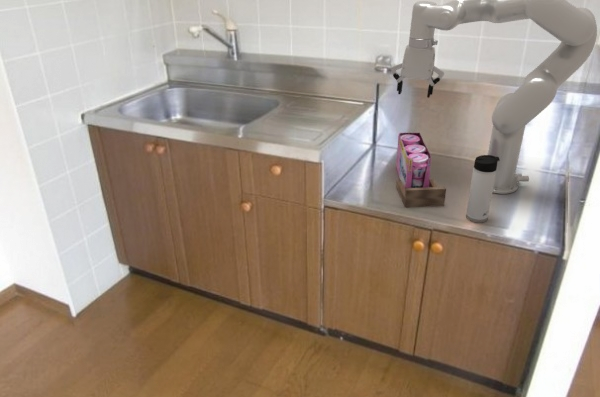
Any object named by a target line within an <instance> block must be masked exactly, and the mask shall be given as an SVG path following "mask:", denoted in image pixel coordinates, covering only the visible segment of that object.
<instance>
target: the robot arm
mask: <svg viewBox="0 0 600 397" xmlns="http://www.w3.org/2000/svg"><path fill="white" fill-rule="evenodd" d="M410 20H411V21H410V29H409V38H408V45H406V47H405V49H404V53H403V56H402V57H403V58H402V63H398V64H397V65H394V66H392V67H391V68H390V72H391V74H392V77H393V78H394V79H395V80H396V83H397V86H396V91H397V92H398V93H397V95H401V94H402V91H403V84H404V81H403V80H404V79H405V78H406V79H414V80H424V81H427V82H428V84H429V85H428V87H427V95H426V97H427V98H428V99H430V96H432V95H433V93H434V87H435V85H436V84H438V83H439V82H440V81H441V79H442V78H443V77H444V75H445V72H444V71H443V70H441V69H439V68H438V67H437V66H435V60H436V59H435V58H436V49H435V47H434V46H437V45H438V42H439V41H438V40H436V39H435V38H434V36H435V29H436V30H439V31H445V32H447V31H451V30H453V29H455V28H456V27H457V26H458V25H463V24H468V23H477V22H489V23H493V24H502V23H509V22H516V21H521V20H530V21H532V22H533V23H535V24H537V26H539V28H541V29H542V30H544V31H546V32H547V33H549V34H550V35H551V36H552V37H555V38H556V39H557V40H559V41H560V43H559V45H557V47H556V48H555V50H553V51H552V52H551V53H550V55H548V57H546V58H545V59H544V60H543V61H542V62H541V63H540V64H539V65H538V66H537V67H535V68H534V69H533V70H532V71H531V72H529V73H528V74H527V75H526V76H525V78H524V79H523V82H522V84H520V86H519V87H518V88H517V89H516V90H515V91H514V92H509V93H507V94H505V95H503V96H501V97H500V98H499V99H498V101H497V103H496V105H495V107H494V110H493V112H492V115H491V124H492V129H491V134H490V140H489V144H488V150H487V151H488V152H487V155H492V156H495V157H499V159H500V161H498V162H497V170H496V176H495V181H494V186H493V192H492V194H500V195H502V194H503V195H507V194H512V193H514V192H516V191H517V190H518V188H519V187H518V186H519V184H518V183H520V182H521V183H522V182H529V181H530V178H529V175H523V174H522V173H516V172H517V168H518V163H519V158H520V153H521V147H522V145H523V139H524V135H525V129H526V126H527V125H528V124H529V123H530V122H531V121H532V120H534V119H536V117H537V116H538V115H539V114H541V113H542V112H543V111H545V109H546V108H548V106H550V104H552V102H553V101H554V99H555V97H556V96H557V92H558V89H559V88H560V86H562V85H563V84H564V83H565V82H566V81H567V80H568V79H570V77H572V75H574V74H575V73H576V72H577V71H578V70H579V69H580V68H581V67H582V66H583V65H584V64H585V63H586V61H587V60H588V59H589V57H590V56H591V53H592V52H593V51H594V48H595V45H596V42H597V38H598V37H597V36H598V27H597V26H598V25H597V19H596V18H595V15H594V13H593V12H592V11H591V10H590V9H588V8H586V7H576V6H575V5H573V4H572V3H570V2H569V1H568V0H450V1H448V2H445V3H443V4H437V3H436V2H434V1H428V0H422V1H421V0H420V1H416V2H415V3H413V6H412V13H411V19H410ZM399 69H401V71H400V75H399V74H398V72H397V70H399ZM434 73H435V74H437V75H438V76H437V77H436V78H434V77H432V76H433V75H434Z"/></svg>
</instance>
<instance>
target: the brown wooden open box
mask: <svg viewBox="0 0 600 397" xmlns="http://www.w3.org/2000/svg"><path fill="white" fill-rule="evenodd" d="M395 183H396V184H395V187H396V188H395V189H396V190H397V192H398V194H399V197H400V199H401V201H402V203H403V205H404V207H405V208H417V207H418V208H420V207H422V208H423V207H441V206H443V207H444V206H445V202H446V201H445V200H446V195H447V194H446V193H447V188H446V186H438V184H437V183H436V181H435V180H434V179H433V178H429V186H428V187H425V188H406V189H405V188H404V185H403V183H402V181H401V180H400V179H398V180H396V182H395Z"/></svg>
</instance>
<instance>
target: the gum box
mask: <svg viewBox="0 0 600 397" xmlns="http://www.w3.org/2000/svg"><path fill="white" fill-rule="evenodd" d="M395 164H396V170H397V174H398V177H399V180H401V181H402V183H403V185H404V188H405V189H406V188H425V187H428V186H429V179H430V174H431V164H432V156H431V152H430V151H429V149H428V147H427V146H426V144H425V141H424V139H423V137H422V134H421V133H420V132H398V137H397V154H396V163H395Z"/></svg>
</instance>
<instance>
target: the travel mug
mask: <svg viewBox="0 0 600 397" xmlns="http://www.w3.org/2000/svg"><path fill="white" fill-rule="evenodd" d="M498 161H500V159H499V157H495V156H492V155H488V154H482V155H478V156H476V158H475V160H474V163H473V169H472V175H471V179H470V180H471V181H470V188H469V195H468V199H467V206H466V213H465V217H466V219H467V220H468V221H471V222H473V223H477V224H478V223H485V222H487V220H488V218H489V213H490V206H491V201H492V198H493V197H492V196H493V186H494V181H495V176H496V170H497V162H498Z"/></svg>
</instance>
